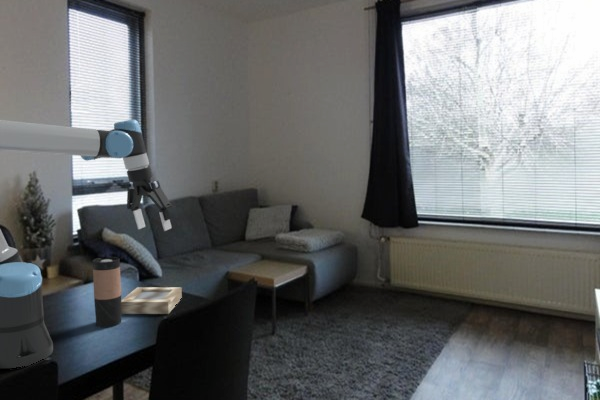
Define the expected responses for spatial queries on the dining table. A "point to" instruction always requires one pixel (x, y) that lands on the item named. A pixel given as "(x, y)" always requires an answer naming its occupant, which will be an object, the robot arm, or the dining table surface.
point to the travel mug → (107, 291)
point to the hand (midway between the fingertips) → (154, 228)
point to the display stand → (151, 300)
